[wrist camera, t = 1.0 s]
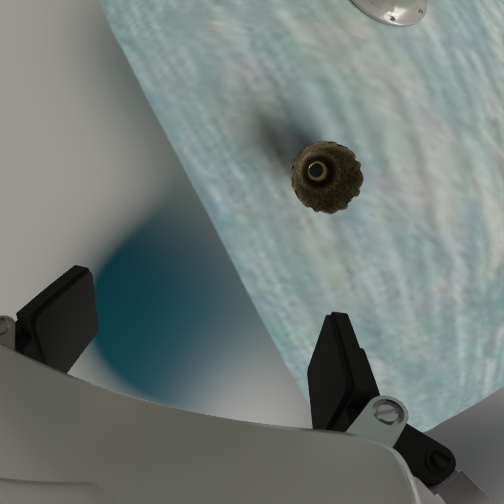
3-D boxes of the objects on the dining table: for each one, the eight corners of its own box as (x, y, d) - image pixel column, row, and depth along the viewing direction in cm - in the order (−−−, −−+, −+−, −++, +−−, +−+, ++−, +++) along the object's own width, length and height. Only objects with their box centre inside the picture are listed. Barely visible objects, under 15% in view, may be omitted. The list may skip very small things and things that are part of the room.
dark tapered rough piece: (314, 129, 34) (326, 125, 27) (356, 169, 36) (377, 177, 28) (274, 171, 37) (275, 179, 29) (317, 210, 38) (328, 228, 30)
